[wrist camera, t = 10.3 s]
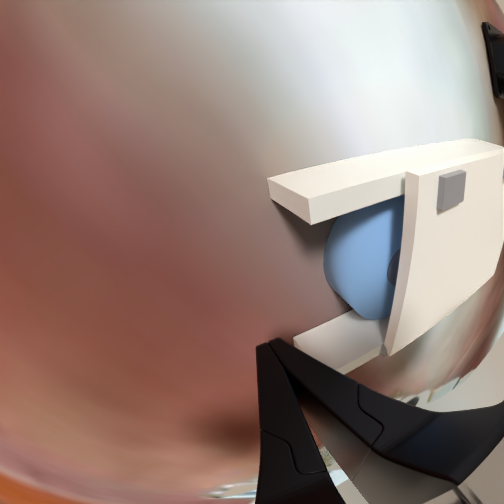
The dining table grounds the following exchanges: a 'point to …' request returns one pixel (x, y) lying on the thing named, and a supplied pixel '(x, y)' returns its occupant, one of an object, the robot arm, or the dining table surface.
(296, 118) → the dining table surface
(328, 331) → the white channel bracket
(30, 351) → the dining table surface
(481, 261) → the cover
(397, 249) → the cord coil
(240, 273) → the dining table surface
